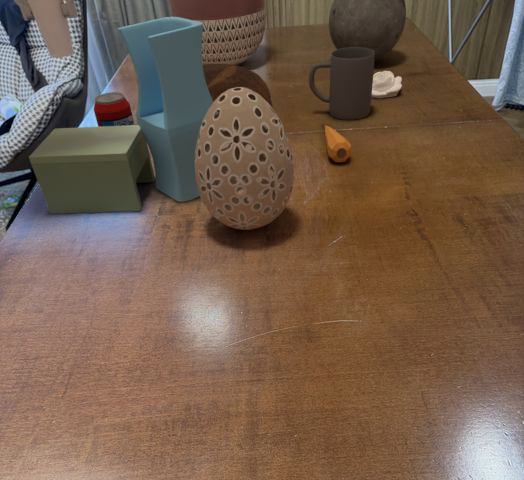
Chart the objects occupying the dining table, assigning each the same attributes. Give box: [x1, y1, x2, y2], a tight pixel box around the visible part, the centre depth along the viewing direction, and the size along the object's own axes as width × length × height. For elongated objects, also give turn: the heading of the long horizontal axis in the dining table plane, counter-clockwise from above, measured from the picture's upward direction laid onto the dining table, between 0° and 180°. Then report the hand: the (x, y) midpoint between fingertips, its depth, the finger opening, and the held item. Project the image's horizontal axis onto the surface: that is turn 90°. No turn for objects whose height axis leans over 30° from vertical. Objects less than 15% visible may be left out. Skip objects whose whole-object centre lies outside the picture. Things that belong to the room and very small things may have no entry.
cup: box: [27, 0, 75, 59], centre depth 71 cm, size 5×5×12 cm
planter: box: [167, 0, 267, 66], centre depth 138 cm, size 27×27×27 cm
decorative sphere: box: [328, 0, 407, 62], centre depth 133 cm, size 20×20×20 cm
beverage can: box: [93, 91, 136, 127], centre depth 97 cm, size 7×7×12 cm
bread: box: [203, 64, 272, 116], centre depth 117 cm, size 28×27×9 cm
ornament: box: [195, 87, 295, 231], centre depth 74 cm, size 15×15×20 cm
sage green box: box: [28, 124, 156, 215], centre depth 87 cm, size 16×12×10 cm
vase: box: [117, 16, 220, 203], centre depth 83 cm, size 10×10×25 cm
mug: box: [308, 47, 375, 121], centre depth 109 cm, size 14×9×12 cm
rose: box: [371, 70, 403, 99], centre depth 120 cm, size 10×4×10 cm
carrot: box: [324, 124, 352, 163], centre depth 100 cm, size 20×4×4 cm, turn 4°
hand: (51, 18), depth 72 cm, fingers closed on cup, 4 cm apart
